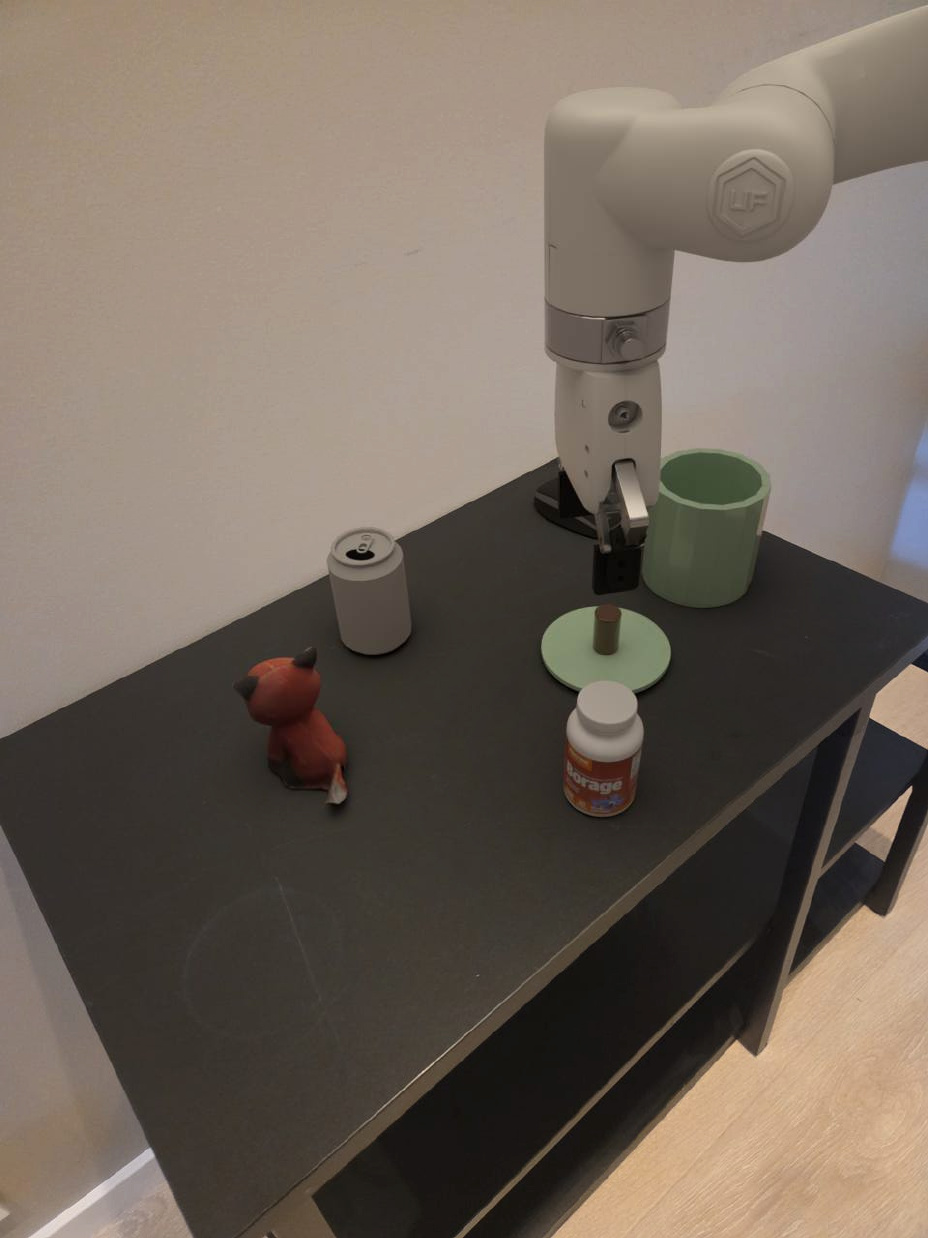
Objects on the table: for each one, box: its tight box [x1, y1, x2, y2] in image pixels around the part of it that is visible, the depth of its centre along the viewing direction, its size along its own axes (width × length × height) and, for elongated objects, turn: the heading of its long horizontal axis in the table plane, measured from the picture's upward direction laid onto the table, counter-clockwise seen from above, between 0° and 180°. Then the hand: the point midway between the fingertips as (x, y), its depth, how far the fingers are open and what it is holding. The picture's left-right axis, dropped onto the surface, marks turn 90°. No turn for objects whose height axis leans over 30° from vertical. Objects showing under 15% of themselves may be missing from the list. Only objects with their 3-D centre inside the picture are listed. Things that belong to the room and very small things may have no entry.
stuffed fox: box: [231, 645, 349, 805], centre depth 74 cm, size 8×11×12 cm
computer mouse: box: [533, 476, 622, 539], centre depth 105 cm, size 7×12×4 cm, turn 41°
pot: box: [641, 447, 773, 609], centre depth 93 cm, size 12×12×12 cm
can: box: [326, 526, 412, 656], centre depth 87 cm, size 8×8×12 cm
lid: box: [540, 603, 672, 694], centre depth 86 cm, size 13×13×6 cm
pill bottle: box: [562, 681, 645, 818], centre depth 71 cm, size 6×6×11 cm
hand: (595, 550), depth 64 cm, fingers open, 9 cm apart
